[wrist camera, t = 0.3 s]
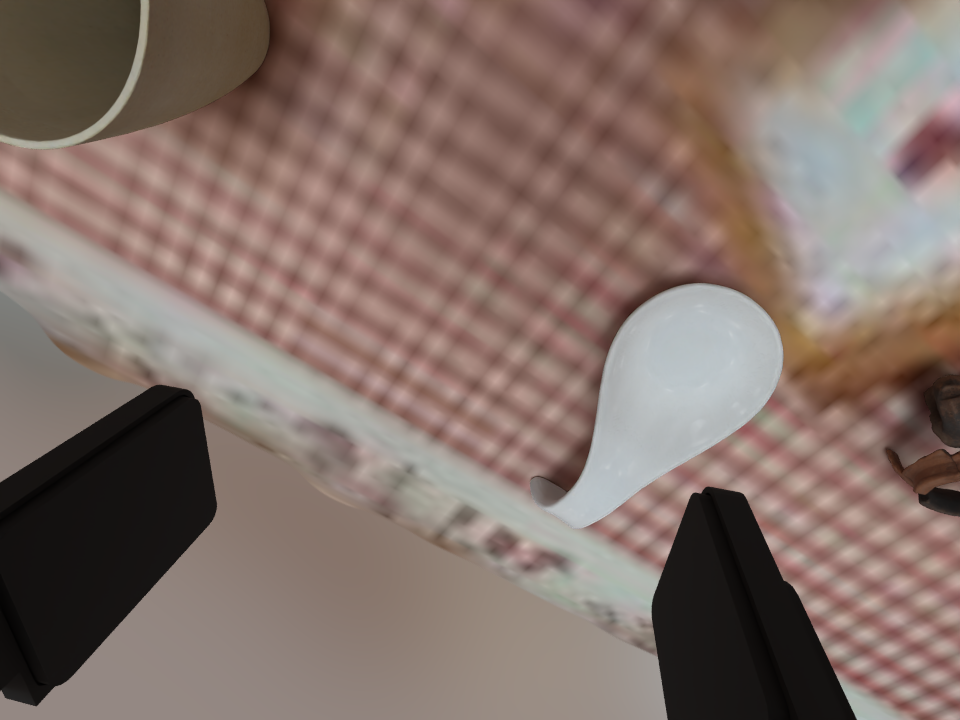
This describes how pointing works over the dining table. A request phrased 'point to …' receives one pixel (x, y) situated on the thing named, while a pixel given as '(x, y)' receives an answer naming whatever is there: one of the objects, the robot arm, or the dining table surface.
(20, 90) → the plant pot
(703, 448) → the spoon rest
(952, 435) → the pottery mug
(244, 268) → the dining table surface
